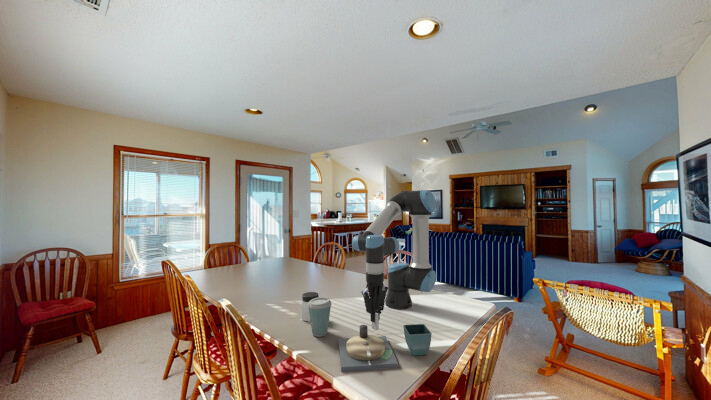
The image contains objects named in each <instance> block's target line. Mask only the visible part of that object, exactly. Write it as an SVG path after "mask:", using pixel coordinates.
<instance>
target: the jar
mask: <svg viewBox="0 0 711 400" xmlns="http://www.w3.org/2000/svg"><path fill="white" fill-rule="evenodd" d="M318 297H320V296H319V293H318V292H315V291H307V292H304V293H303V294H302V298H301V320H302V321H305V322H309V323H311V321H310V314H309V308H308V302H309V301H310V300H312V299H314V298H318Z"/></svg>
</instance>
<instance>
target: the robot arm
mask: <svg viewBox="0 0 711 400" xmlns="http://www.w3.org/2000/svg"><path fill="white" fill-rule="evenodd" d="M436 207H437V205H436V198H435V196H434V193H433V192H431V191H430V190H425V189H424V190H423V189H422V190H421V189H420V190H403V191H400V192H399V193H396V194H395V195H394V196H392V197H391V198H390V199H389V200H388V201H387V202H386V203H385V207H384V208H383V209H382V211H381V212H380V213H379V214H378V215H377V217H376V218H375V219H374V220H373V221H372V222H371V224H370V225H369V226H368V227H367V228H366V230H365V231H364V232H363V233H362V234H358V235H354V236H353V238H352V240H351V247H352V248H353V250H354V251H357V252H364V253H365V271H366V273H365V282H366V285H365V289H364V290H361V292H360V293H361V295H362V296H363V302H364V306H365V311H366V313H368V314H369V315H370V322H371V329H372V330H374V331H378V330H380V329H379V323H380V322H379V321H380V320H381V319H380V315H382V312H383V311H384V308H385V306H386V307H388V308H390V309H395V310H406V309H409V308H412V306H413V301H412V297H411V294H410V290H413V291H419V292H421V293H422V292H423V293H430V292H431V291H432V290H433V289H434V287H435V284H436V279H437V273H436V271H435V270H434V269H433V268H432V267H433V266H432V265H431V264H430V259H429V257H430V256H429V255H430V253H429V252H430V249H429V248H430V245H429V243H430V241H429V240H430V239H429V238H430V235H429V234H430V232H429V231H430V226H429V225H430V223H429V219H430V218H431V216H432V214H433V212H435V210H436ZM404 212H405V213H408V212H409V216H410V217H411V219H412V262H411V263H407V262H397V263H391V264H389V265H388V267H387V268H388V269H387V286H385V284H384V282H385V273H384V272H385V263H384V261H385V256H389V255H394V254H395V253H397V252H398V251H399V250H400V242H399V240H398V239H397V237H394V236H388V237H384V236H383V234H384V232H386V230H387V229H388V228H389V226H390V225H391V223H392V222H393V221H394V220H395V218H396V217H398V216H400V215H401V214H402V213H404Z"/></svg>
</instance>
